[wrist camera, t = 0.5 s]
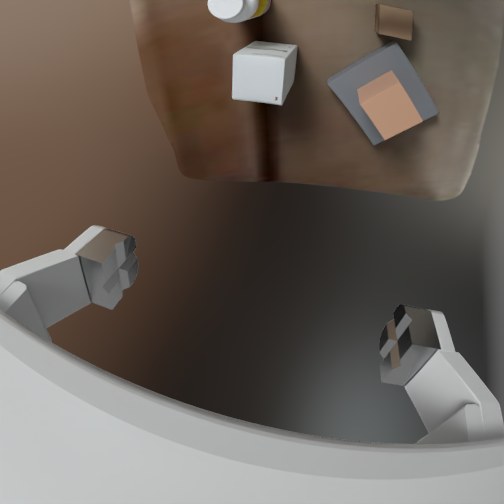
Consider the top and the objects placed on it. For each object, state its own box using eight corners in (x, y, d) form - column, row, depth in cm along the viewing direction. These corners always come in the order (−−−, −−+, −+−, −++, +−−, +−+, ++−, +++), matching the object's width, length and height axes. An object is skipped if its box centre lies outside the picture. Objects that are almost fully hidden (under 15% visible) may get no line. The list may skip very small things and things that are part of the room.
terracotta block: (391, 70, 36) (399, 82, 32) (413, 104, 39) (423, 121, 35) (357, 89, 41) (359, 103, 36) (380, 121, 44) (384, 140, 40)
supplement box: (298, 44, 40) (287, 58, 32) (294, 82, 46) (282, 107, 38) (254, 39, 41) (231, 53, 33) (252, 76, 46) (231, 100, 39)
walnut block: (375, 3, 30) (379, 4, 27) (406, 9, 29) (413, 11, 26) (374, 30, 34) (378, 33, 31) (404, 36, 33) (411, 40, 30)
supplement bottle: (264, -21, 31) (241, -26, 23) (276, 12, 36) (258, 17, 28) (226, -10, 34) (193, -9, 26) (238, 21, 39) (210, 31, 31)
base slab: (393, 40, 34) (396, 42, 32) (434, 106, 40) (439, 113, 38) (327, 78, 43) (327, 83, 41) (372, 138, 49) (373, 145, 48)
